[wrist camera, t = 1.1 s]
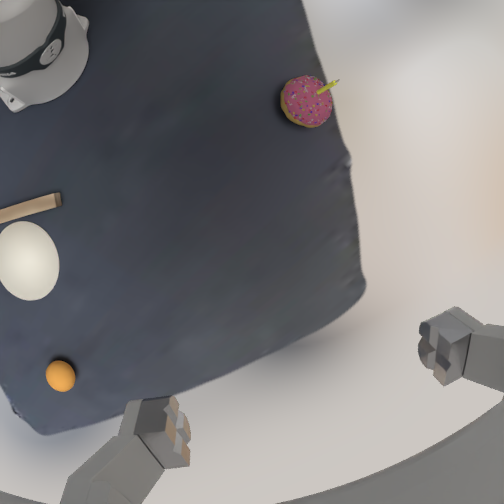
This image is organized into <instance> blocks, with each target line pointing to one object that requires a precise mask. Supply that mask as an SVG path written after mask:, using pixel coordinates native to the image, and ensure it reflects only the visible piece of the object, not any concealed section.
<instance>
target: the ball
mask: <svg viewBox="0 0 504 504" xmlns="http://www.w3.org/2000/svg"><path fill="white" fill-rule="evenodd" d="M46 378H47V381H48V383H49V384H50V386H51V387H52V388H54V389H55V390H57V391H62V392H63V391H67V390H69V389H71V388H72V387H73V385H74V383H75V373H74V371H73V369H72V367H71V366H70V365H69V364H68V363H66V362H64V361H54V362H52V363H51V364H50V365H49V366H48V367H47V370H46Z"/></svg>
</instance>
